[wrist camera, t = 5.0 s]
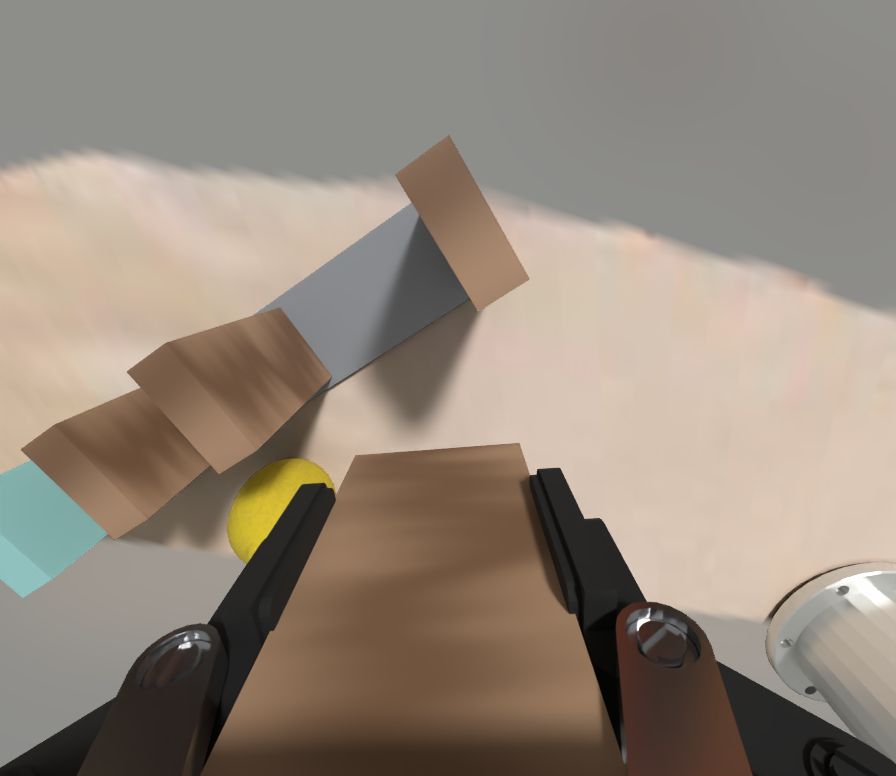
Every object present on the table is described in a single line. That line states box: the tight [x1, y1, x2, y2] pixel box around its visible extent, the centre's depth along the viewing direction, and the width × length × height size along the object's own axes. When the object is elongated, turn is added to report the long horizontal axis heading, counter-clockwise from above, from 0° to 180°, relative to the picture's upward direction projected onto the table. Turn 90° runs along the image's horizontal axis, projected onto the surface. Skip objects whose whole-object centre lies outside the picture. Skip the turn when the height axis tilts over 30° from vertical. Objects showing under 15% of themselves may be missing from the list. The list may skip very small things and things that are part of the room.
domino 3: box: [395, 135, 529, 311], centre depth 18 cm, size 5×2×10 cm, turn 33°
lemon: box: [227, 458, 336, 564], centre depth 24 cm, size 6×6×8 cm
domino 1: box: [21, 388, 210, 540], centre depth 21 cm, size 5×2×10 cm, turn 33°
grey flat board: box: [253, 203, 470, 403], centre depth 25 cm, size 6×28×1 cm, turn 123°
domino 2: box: [127, 307, 332, 474], centre depth 20 cm, size 5×2×10 cm, turn 33°
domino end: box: [0, 460, 108, 597], centre depth 23 cm, size 5×2×10 cm, turn 33°
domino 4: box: [200, 443, 625, 776], centre depth 8 cm, size 5×2×10 cm, turn 95°
